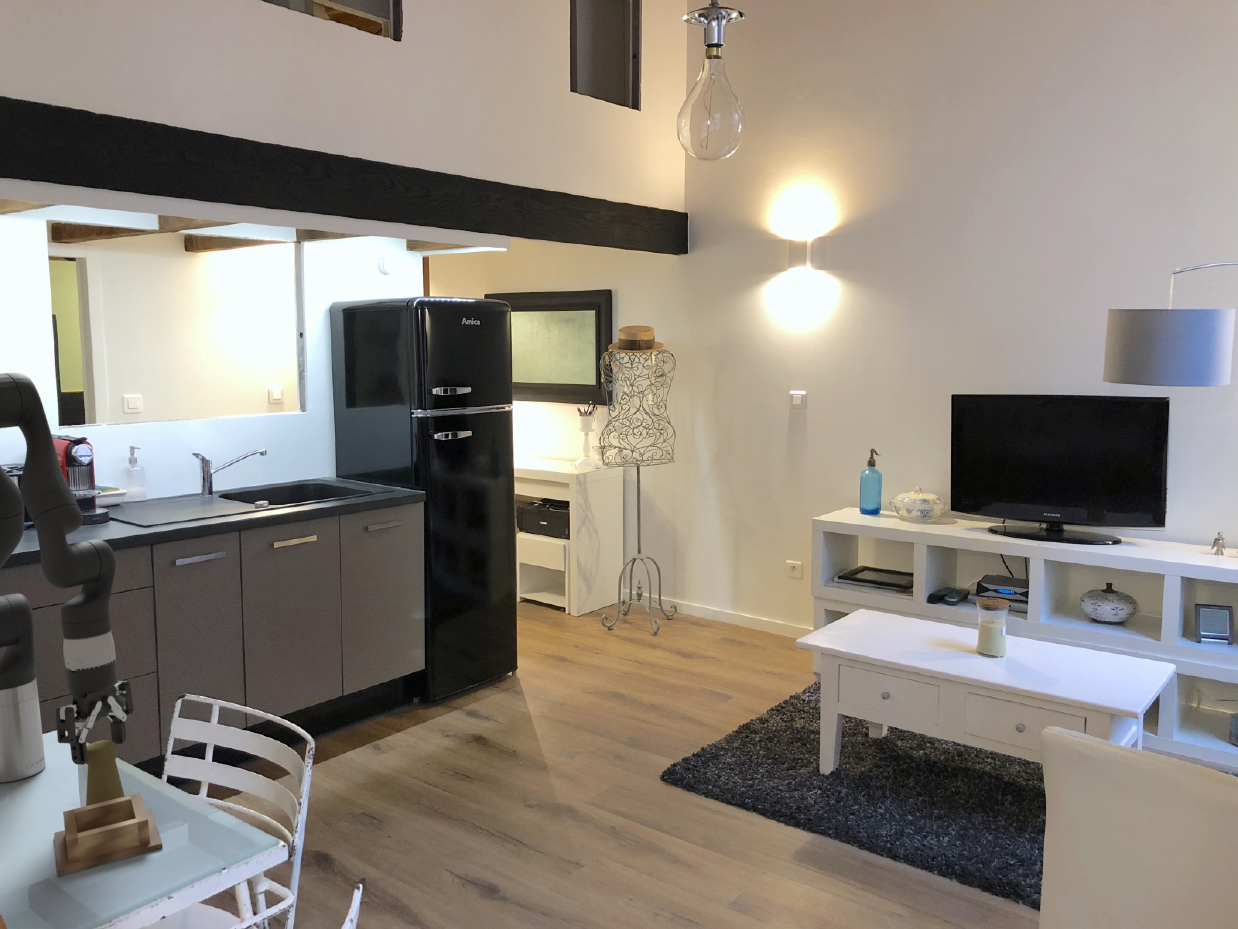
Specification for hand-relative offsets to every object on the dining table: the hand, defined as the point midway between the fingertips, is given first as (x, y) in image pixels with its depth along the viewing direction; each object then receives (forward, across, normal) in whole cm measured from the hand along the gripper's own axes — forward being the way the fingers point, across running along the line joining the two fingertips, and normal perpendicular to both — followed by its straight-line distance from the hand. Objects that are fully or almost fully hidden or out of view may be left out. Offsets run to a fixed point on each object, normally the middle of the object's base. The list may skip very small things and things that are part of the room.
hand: (100, 753), depth 162 cm
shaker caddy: (+10, +11, +10) cm, 17 cm away
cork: (+10, 0, 0) cm, 10 cm away
